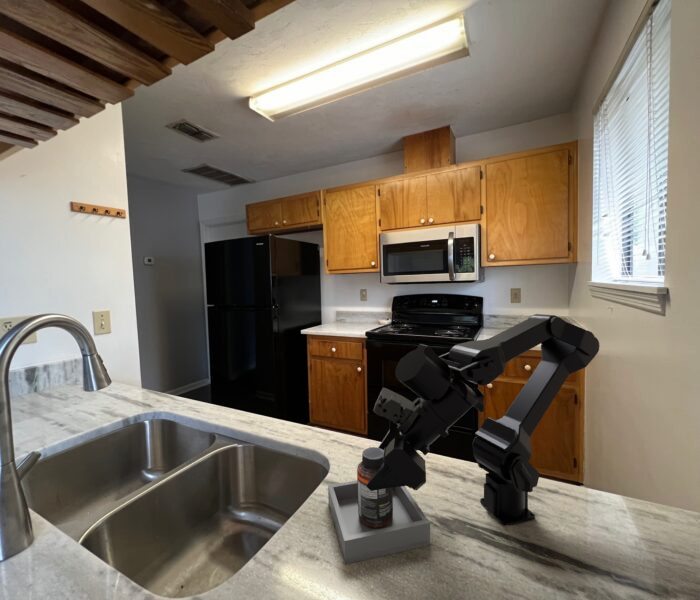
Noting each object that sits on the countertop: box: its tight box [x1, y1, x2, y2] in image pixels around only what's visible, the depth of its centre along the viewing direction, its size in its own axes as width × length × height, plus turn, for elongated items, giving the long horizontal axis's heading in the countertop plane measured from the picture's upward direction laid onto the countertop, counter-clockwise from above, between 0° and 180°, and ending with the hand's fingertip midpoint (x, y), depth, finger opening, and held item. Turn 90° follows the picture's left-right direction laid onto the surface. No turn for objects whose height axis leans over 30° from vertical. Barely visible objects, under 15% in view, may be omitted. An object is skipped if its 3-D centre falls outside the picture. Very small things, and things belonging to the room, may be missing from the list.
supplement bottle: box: [356, 446, 393, 528], centre depth 54 cm, size 6×6×11 cm
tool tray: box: [327, 480, 431, 565], centre depth 54 cm, size 14×14×4 cm
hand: (372, 471), depth 54 cm, fingers open, 9 cm apart
